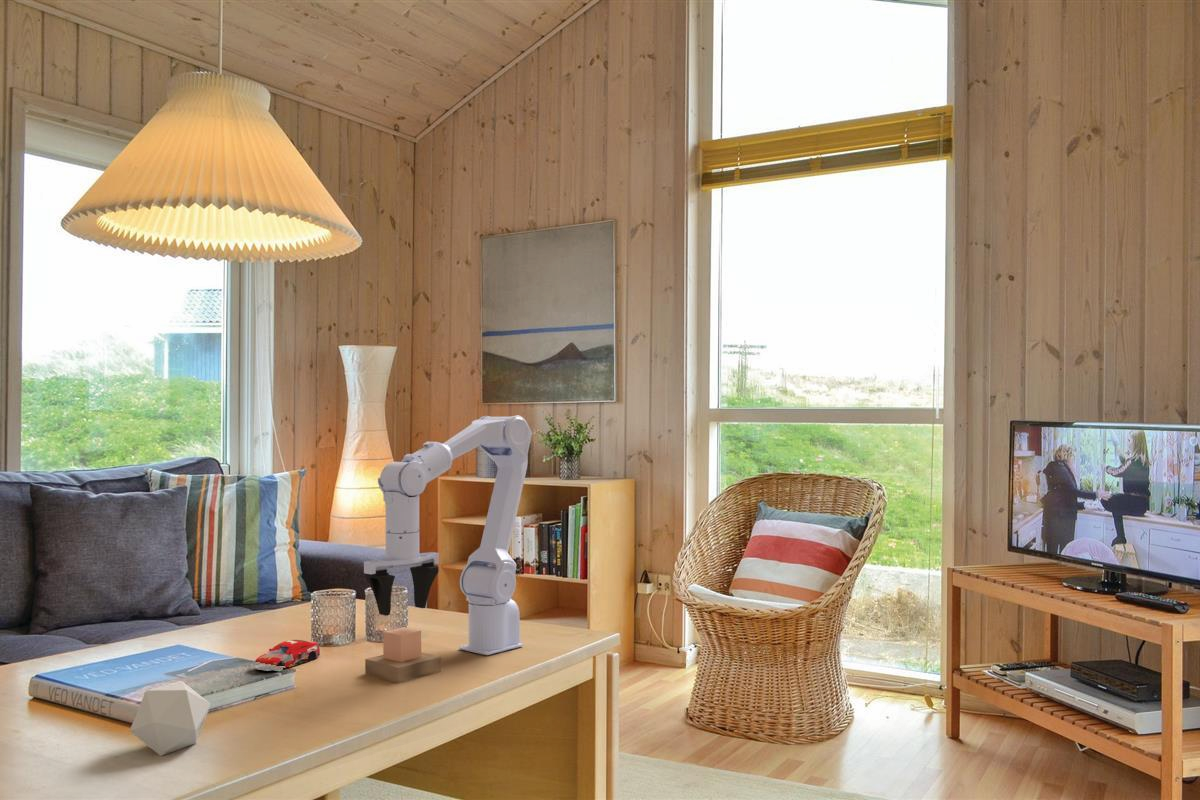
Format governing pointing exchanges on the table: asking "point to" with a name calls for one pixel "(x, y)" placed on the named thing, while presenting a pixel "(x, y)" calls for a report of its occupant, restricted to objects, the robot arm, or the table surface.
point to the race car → (291, 653)
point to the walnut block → (403, 667)
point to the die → (170, 717)
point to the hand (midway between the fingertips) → (402, 611)
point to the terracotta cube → (402, 644)
